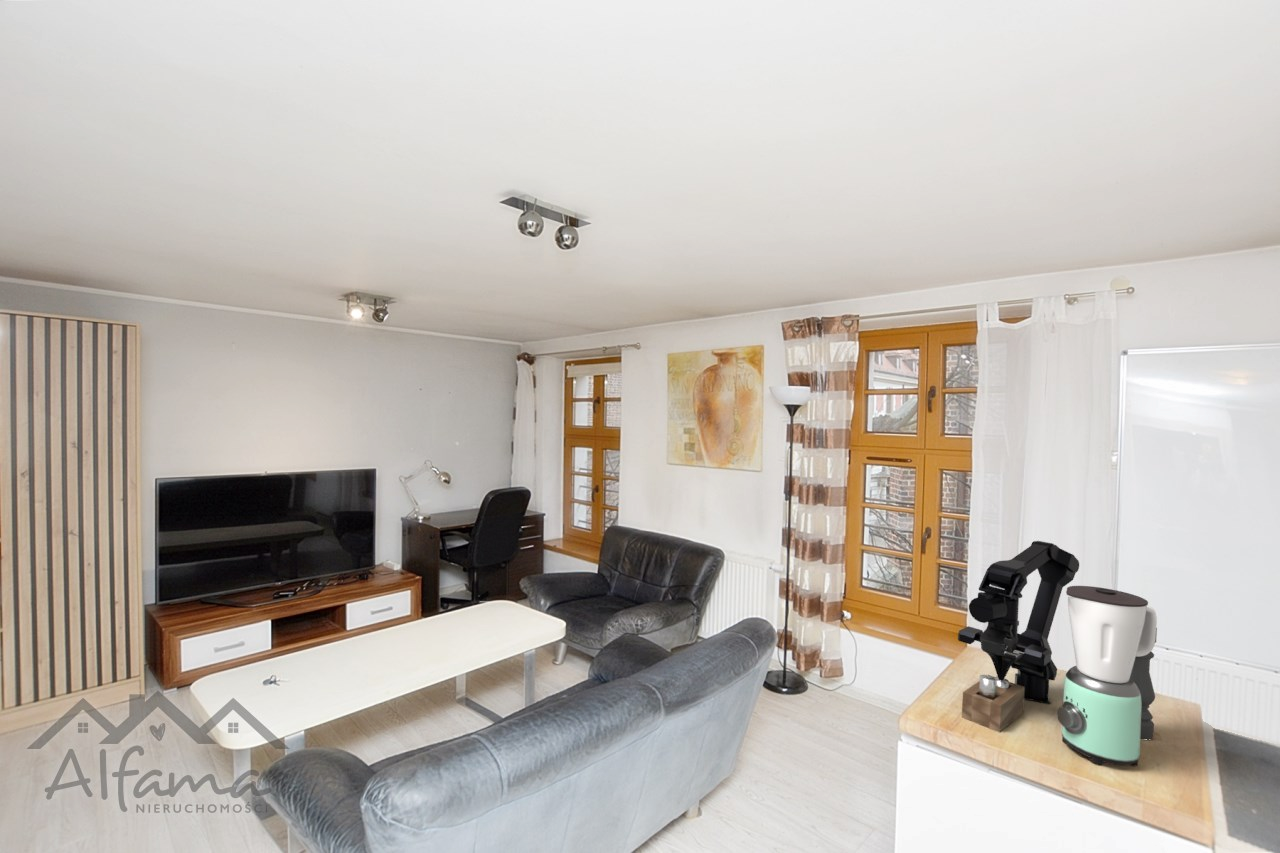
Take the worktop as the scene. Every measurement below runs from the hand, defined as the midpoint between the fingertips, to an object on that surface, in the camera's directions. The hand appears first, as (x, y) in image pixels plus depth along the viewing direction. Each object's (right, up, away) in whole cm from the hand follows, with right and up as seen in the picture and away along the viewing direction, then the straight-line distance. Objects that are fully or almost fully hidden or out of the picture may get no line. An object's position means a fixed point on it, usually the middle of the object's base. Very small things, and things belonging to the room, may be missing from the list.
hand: (1001, 679), depth 140 cm
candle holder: (+25, -9, -9) cm, 28 cm away
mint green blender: (+10, -8, -18) cm, 22 cm away
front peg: (-7, -3, -6) cm, 10 cm away
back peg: (0, -6, 0) cm, 6 cm away
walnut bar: (-4, -7, -3) cm, 9 cm away
